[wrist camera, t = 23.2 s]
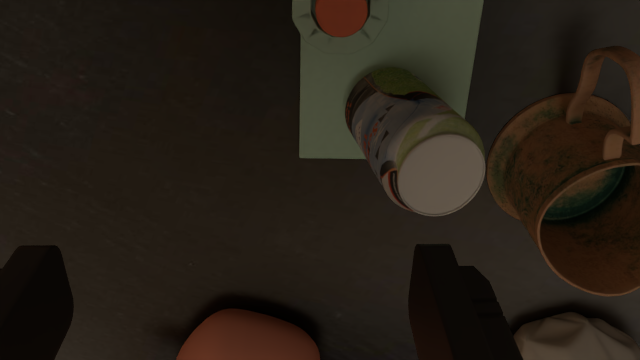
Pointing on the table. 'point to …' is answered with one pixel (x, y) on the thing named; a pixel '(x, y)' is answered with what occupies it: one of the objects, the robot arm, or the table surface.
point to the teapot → (247, 339)
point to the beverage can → (415, 142)
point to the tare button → (341, 16)
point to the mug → (577, 179)
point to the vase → (574, 339)
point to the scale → (380, 62)
